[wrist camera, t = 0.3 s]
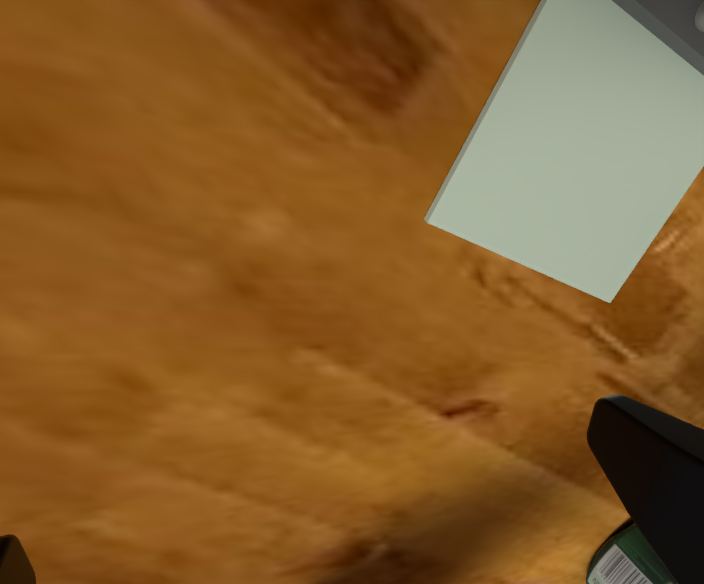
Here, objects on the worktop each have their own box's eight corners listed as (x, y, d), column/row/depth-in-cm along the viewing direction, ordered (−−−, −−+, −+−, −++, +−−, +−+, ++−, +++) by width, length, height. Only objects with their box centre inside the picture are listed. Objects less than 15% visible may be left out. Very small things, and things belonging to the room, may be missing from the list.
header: (604, 299, 28) (700, 361, 23) (423, 219, 23) (494, 276, 18) (812, -8, 24) (989, -16, 19) (644, -194, 19) (824, -276, 13)
